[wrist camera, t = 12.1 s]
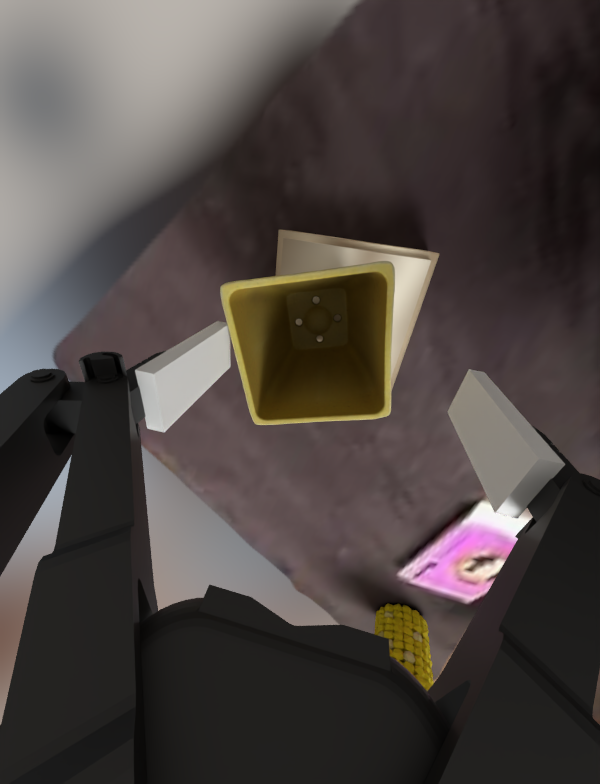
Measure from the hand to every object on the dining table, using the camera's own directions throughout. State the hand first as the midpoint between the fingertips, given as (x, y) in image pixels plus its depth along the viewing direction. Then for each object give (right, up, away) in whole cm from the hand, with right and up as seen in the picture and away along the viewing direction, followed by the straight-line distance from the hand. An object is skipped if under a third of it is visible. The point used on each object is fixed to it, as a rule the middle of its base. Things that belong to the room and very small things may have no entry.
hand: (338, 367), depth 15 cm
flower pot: (-1, +5, +8) cm, 9 cm away
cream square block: (+2, +6, +11) cm, 13 cm away
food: (+17, -44, +38) cm, 61 cm away
